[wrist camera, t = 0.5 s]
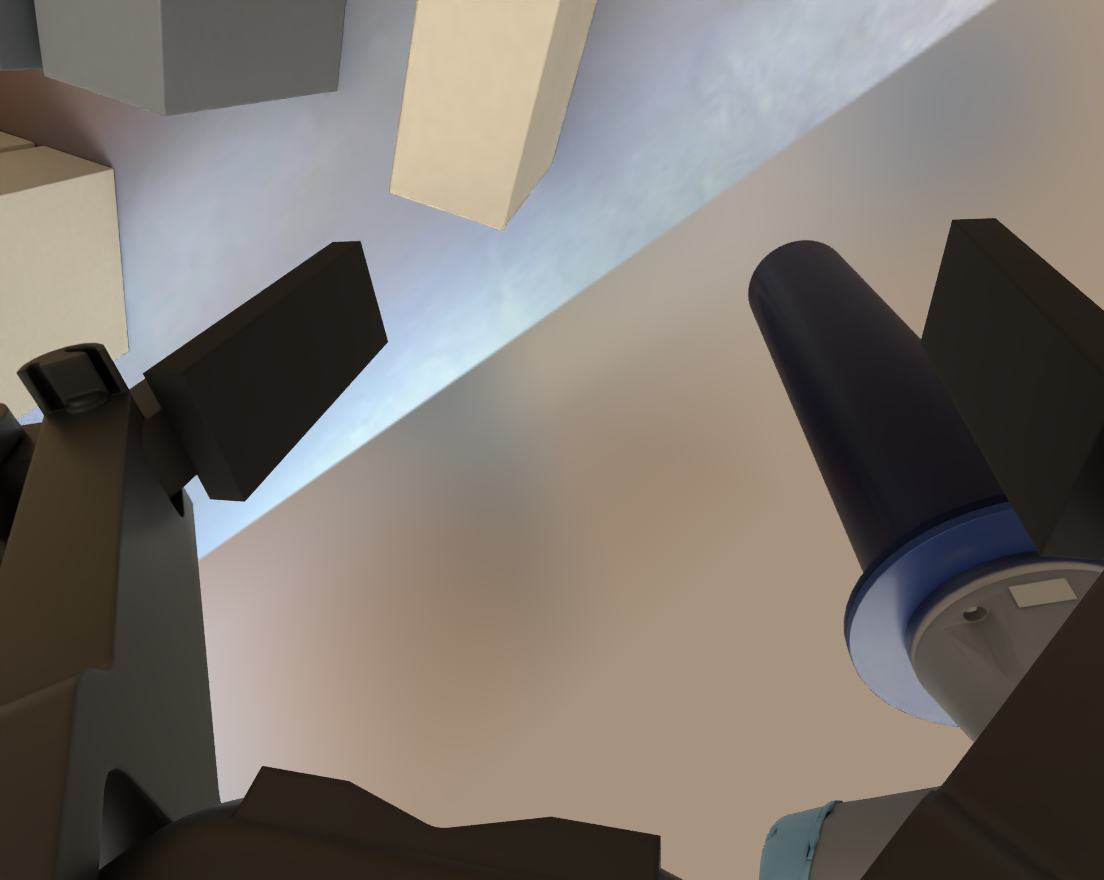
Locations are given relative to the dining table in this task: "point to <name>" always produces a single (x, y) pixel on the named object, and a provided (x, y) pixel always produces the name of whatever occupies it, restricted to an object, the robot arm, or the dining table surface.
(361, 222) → the dining table surface
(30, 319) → the white books
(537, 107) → the white book
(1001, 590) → the robot arm
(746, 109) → the dining table surface
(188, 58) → the grey books
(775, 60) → the dining table surface
